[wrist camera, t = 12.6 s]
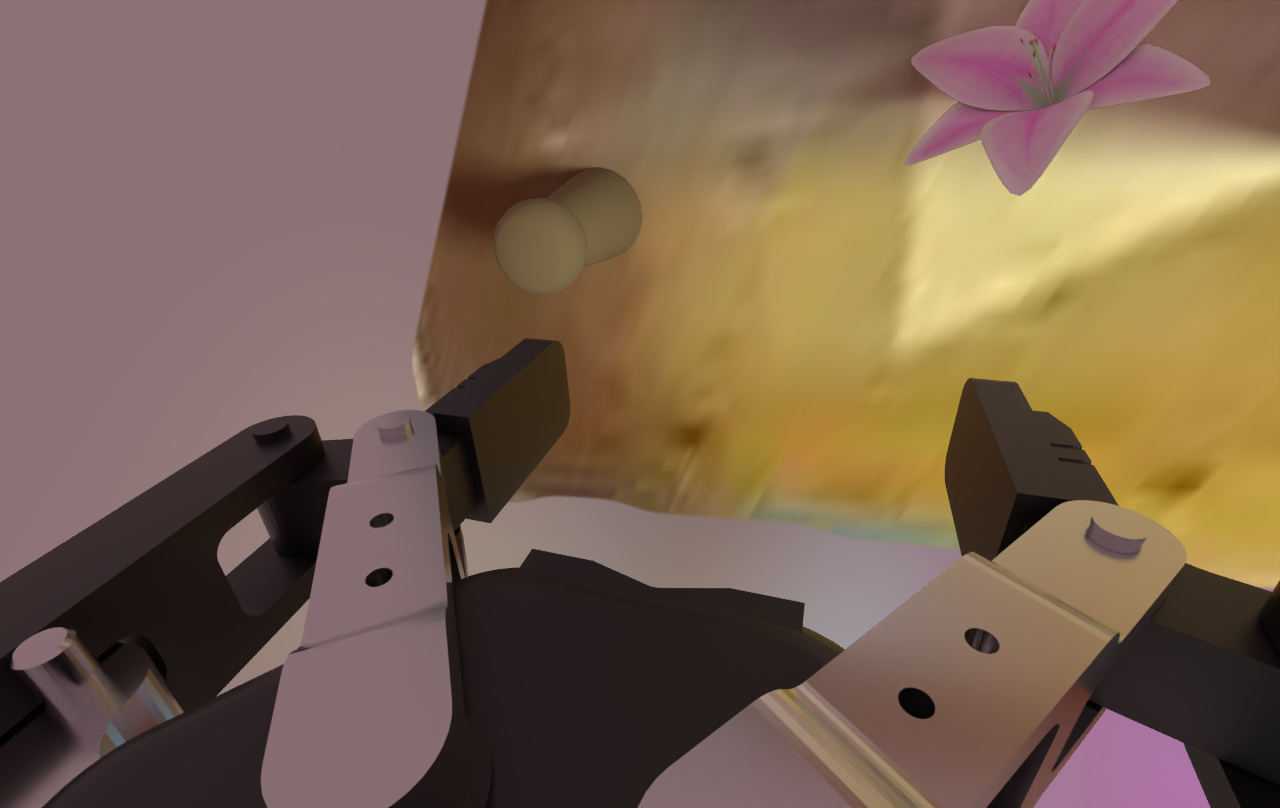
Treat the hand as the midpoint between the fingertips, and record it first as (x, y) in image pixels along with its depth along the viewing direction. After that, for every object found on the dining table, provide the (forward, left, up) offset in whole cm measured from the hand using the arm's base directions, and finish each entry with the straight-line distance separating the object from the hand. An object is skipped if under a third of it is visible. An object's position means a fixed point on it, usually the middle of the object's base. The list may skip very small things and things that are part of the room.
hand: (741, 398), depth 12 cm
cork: (+14, +2, -28) cm, 32 cm away
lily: (-10, -6, -28) cm, 31 cm away
